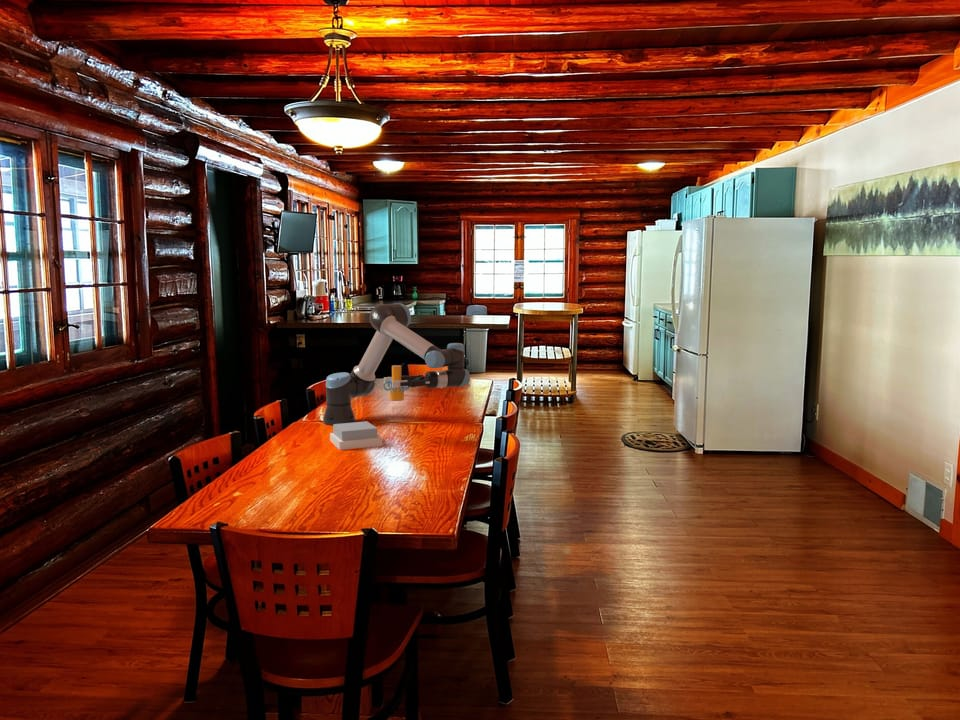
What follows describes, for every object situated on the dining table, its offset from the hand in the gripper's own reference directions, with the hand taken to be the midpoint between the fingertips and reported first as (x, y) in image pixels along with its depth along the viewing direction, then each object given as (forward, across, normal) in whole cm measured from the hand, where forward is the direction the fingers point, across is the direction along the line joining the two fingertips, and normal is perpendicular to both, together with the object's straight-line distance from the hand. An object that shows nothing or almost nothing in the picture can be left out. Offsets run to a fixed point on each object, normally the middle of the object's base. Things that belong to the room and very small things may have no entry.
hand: (388, 382), depth 310 cm
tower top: (+15, -2, -22) cm, 27 cm away
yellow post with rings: (-4, 0, -8) cm, 9 cm away
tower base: (+15, -2, -26) cm, 30 cm away
